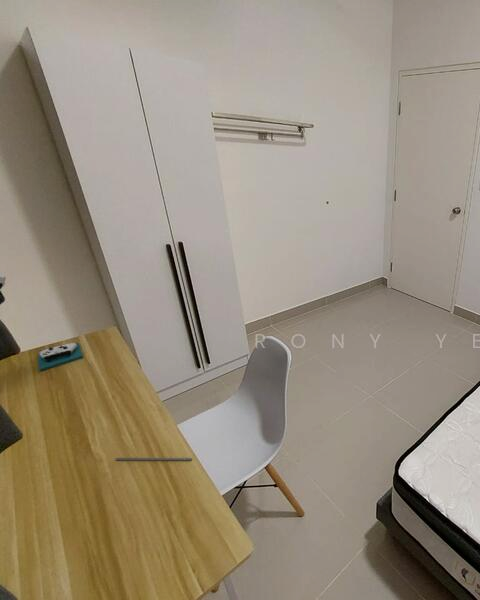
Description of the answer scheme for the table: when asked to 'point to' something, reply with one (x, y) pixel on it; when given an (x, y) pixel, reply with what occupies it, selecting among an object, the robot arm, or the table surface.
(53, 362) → the pad
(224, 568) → the table surface
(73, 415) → the table surface
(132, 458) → the rod
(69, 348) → the game controller
